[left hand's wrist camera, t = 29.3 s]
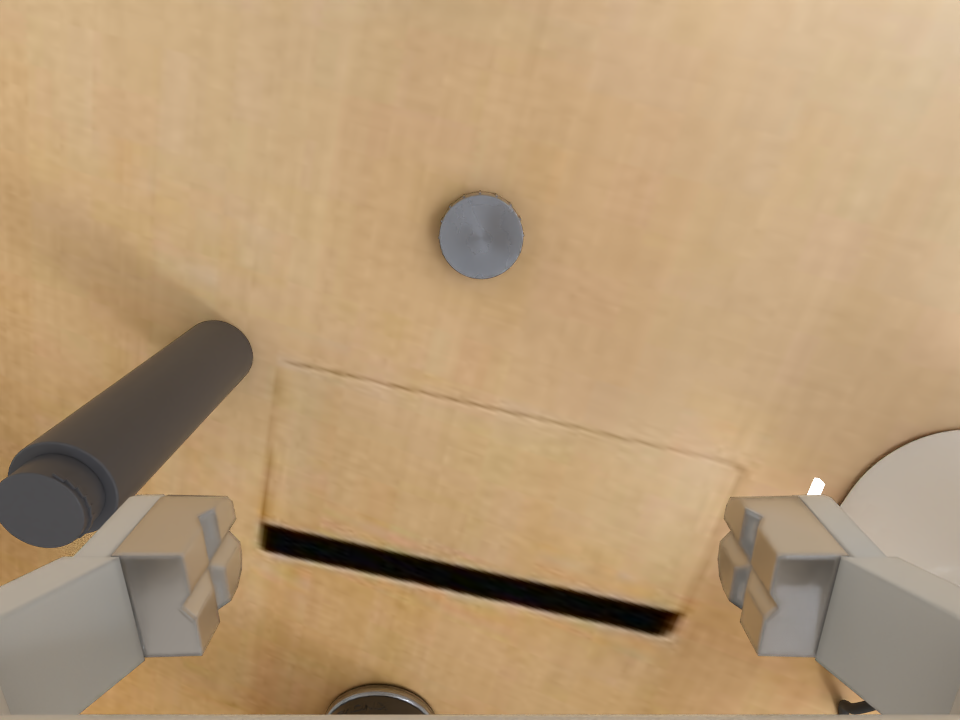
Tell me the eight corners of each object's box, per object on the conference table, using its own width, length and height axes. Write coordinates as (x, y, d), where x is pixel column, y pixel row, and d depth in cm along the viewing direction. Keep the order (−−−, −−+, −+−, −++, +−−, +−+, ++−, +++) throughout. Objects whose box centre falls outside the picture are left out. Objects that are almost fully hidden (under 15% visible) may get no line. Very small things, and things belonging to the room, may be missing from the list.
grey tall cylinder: (233, 395, 41) (70, 576, 25) (172, 359, 40) (-38, 522, 24) (265, 345, 40) (115, 500, 24) (203, 306, 39) (3, 440, 23)
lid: (447, 184, 36) (445, 187, 35) (529, 198, 37) (531, 202, 35) (434, 266, 38) (432, 272, 36) (513, 279, 38) (515, 286, 37)
